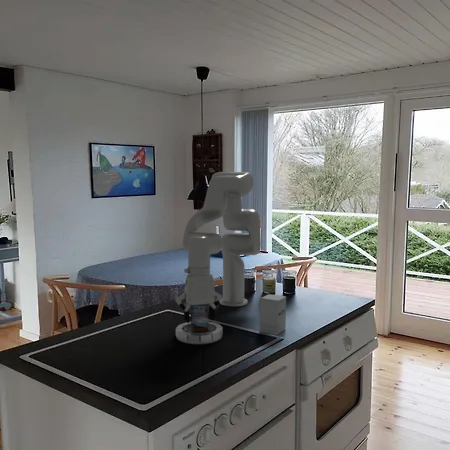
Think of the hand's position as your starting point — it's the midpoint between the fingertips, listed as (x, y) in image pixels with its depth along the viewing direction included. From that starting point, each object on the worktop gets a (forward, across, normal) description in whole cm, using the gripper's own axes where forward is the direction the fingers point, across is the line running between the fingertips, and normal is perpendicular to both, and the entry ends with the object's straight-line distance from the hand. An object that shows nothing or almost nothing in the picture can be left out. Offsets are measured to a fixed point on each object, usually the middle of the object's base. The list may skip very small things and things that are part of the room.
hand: (199, 320), depth 160 cm
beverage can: (+5, 0, 0) cm, 5 cm away
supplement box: (+6, +27, -3) cm, 28 cm away
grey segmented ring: (+6, 0, 0) cm, 6 cm away
